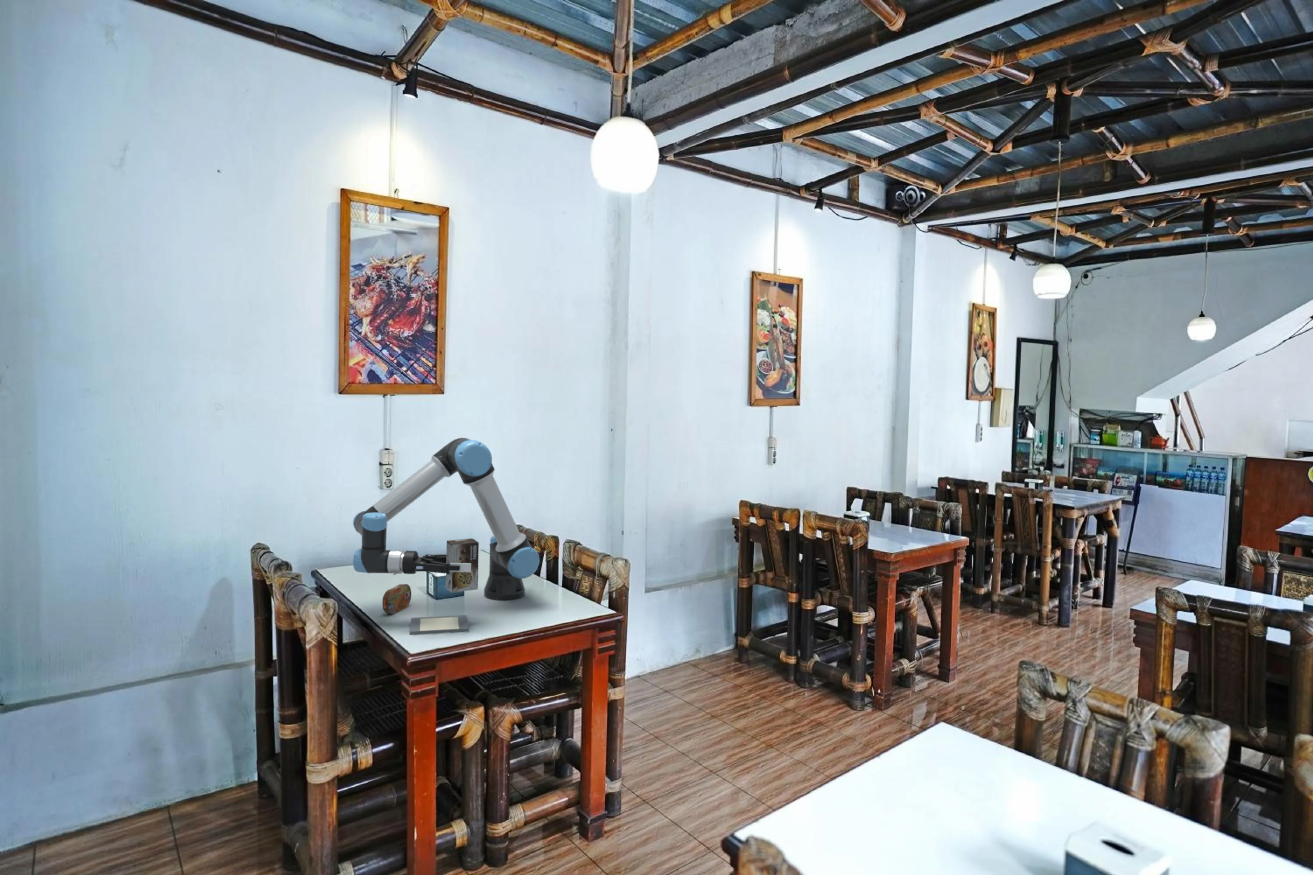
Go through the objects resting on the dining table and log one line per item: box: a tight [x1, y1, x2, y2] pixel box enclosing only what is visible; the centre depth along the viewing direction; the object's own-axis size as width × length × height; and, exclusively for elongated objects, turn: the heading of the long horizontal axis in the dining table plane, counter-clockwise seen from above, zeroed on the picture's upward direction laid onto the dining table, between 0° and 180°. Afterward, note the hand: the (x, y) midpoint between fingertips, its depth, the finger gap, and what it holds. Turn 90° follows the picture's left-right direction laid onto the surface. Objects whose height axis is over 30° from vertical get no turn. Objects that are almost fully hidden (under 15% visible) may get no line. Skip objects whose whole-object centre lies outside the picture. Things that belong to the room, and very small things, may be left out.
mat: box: [409, 614, 470, 636], centre depth 244 cm, size 18×14×1 cm
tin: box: [382, 583, 412, 615], centre depth 259 cm, size 15×3×8 cm, turn 168°
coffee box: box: [445, 538, 480, 594], centre depth 246 cm, size 9×6×16 cm
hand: (473, 563), depth 246 cm, fingers closed on coffee box, 9 cm apart
